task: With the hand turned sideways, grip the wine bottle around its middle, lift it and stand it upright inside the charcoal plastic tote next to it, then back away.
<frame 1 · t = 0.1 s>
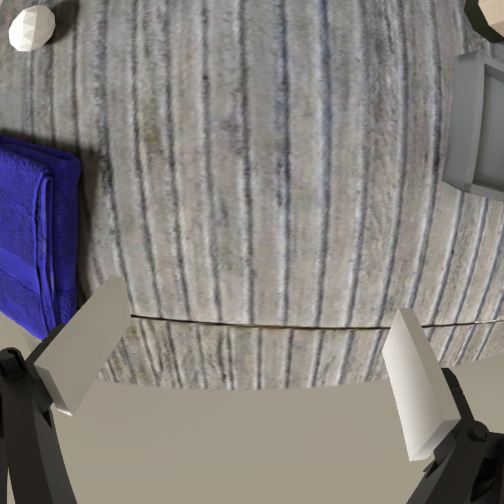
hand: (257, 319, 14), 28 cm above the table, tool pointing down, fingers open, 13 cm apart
wine bottle: (485, 18, 25), on the table
tote: (493, 132, 32), on the table
towel: (31, 234, 48), on the table
ball: (47, 31, 32), on the table
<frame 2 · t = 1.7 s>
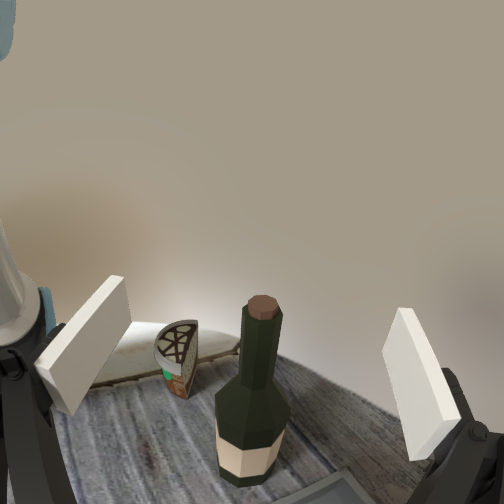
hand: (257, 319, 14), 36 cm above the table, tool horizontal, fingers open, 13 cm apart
wine bottle: (244, 465, 39), on the table
food container: (176, 378, 54), on the table
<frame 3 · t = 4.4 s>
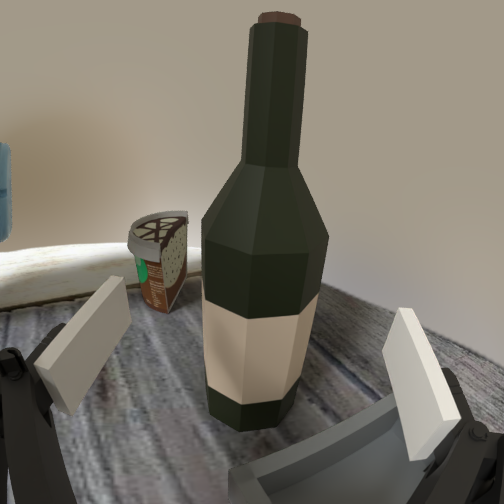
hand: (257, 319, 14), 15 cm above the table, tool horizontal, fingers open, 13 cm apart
wine bottle: (248, 398, 27), on the table
food container: (157, 292, 43), on the table
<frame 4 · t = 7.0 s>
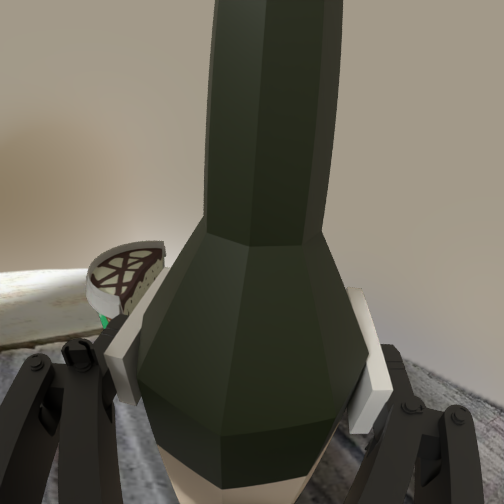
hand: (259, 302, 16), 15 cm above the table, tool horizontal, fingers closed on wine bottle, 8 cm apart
wine bottle: (237, 498, 18), on the table, touching gripper
food container: (130, 341, 33), on the table
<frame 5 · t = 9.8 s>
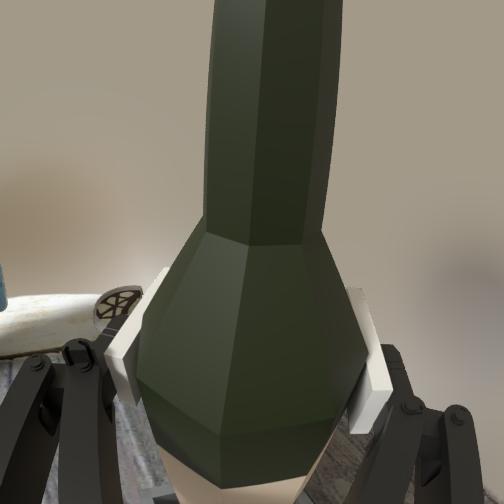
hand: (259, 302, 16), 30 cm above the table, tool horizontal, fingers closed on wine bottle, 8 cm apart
wine bottle: (236, 498, 18), point 15 cm above the table, touching gripper
food container: (121, 347, 51), on the table
when the fingers open (17 cm above the table, at t = 12.8 s): wine bottle drops 1 cm, resting on tote.
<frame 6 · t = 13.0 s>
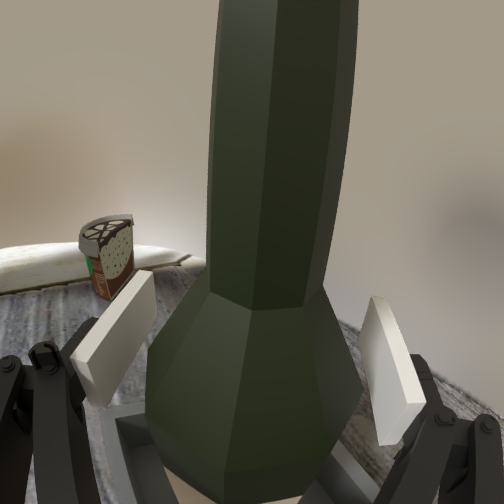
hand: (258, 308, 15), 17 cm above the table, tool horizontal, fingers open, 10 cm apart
food container: (107, 283, 48), on the table
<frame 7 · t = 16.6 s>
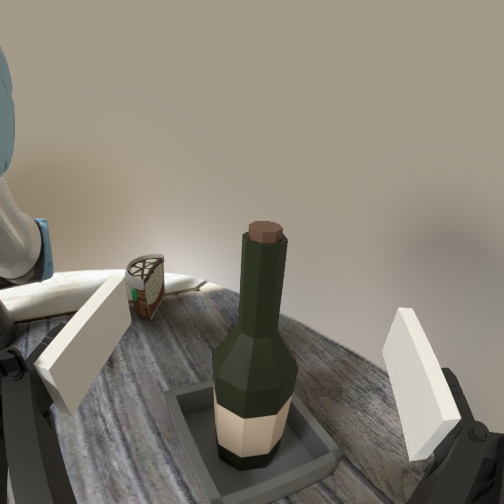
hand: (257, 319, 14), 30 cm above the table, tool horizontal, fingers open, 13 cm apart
wine bottle: (246, 446, 36), point 1 cm above the table, touching tote
tote: (246, 448, 36), on the table
food container: (145, 306, 65), on the table
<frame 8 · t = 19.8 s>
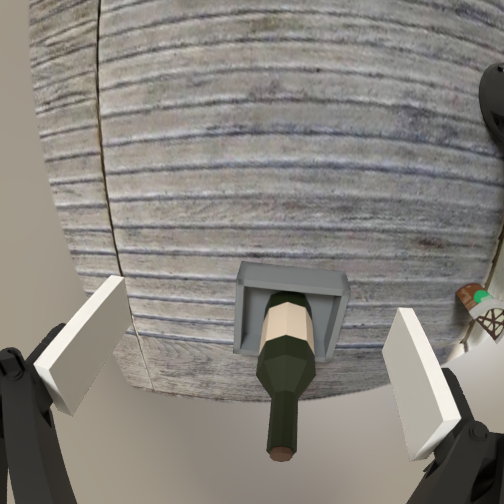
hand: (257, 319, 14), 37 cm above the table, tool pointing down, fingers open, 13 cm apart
wine bottle: (288, 307, 57), point 1 cm above the table, touching tote
tote: (288, 305, 57), on the table
food container: (475, 292, 52), on the table
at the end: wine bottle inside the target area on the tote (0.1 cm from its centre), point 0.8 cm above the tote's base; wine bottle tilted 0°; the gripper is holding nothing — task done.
